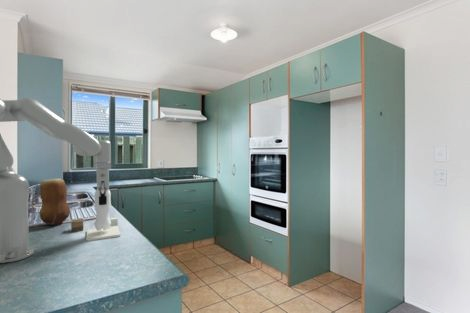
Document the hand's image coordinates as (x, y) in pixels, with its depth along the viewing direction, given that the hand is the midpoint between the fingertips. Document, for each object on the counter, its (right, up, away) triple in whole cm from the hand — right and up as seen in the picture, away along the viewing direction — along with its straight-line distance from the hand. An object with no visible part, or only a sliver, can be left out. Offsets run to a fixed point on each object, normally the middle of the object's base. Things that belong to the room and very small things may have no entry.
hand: (102, 202), depth 129 cm
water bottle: (0, -13, 0) cm, 13 cm away
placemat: (0, -15, +1) cm, 15 cm away
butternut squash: (-34, -15, +17) cm, 41 cm away
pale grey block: (-1, -15, +14) cm, 21 cm away
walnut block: (-16, -15, +7) cm, 23 cm away
